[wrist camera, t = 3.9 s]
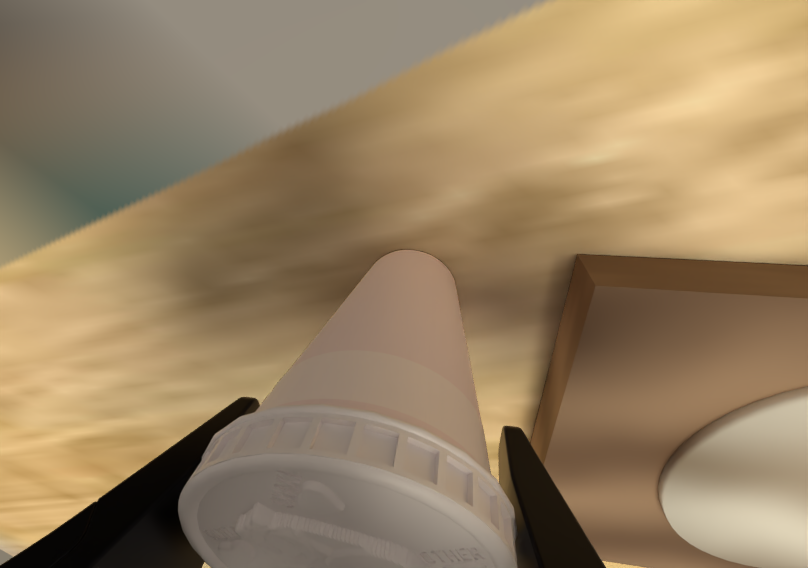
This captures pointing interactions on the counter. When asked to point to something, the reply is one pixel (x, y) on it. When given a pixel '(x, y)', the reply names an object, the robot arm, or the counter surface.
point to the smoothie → (361, 445)
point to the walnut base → (682, 411)
